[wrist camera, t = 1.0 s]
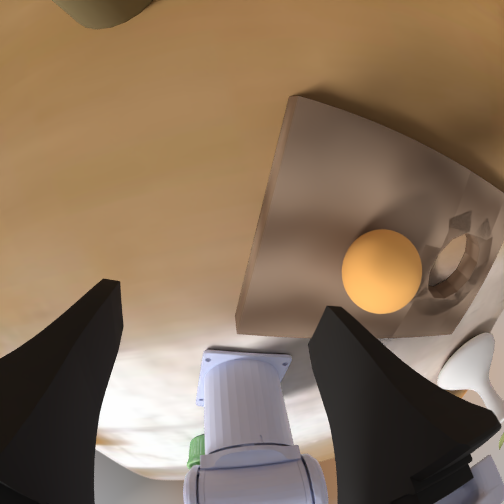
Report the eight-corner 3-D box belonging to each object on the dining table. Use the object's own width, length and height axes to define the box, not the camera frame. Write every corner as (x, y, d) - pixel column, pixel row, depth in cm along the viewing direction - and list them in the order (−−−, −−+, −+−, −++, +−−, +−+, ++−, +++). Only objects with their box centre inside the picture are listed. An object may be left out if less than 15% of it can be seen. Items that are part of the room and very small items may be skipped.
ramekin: (180, 431, 32) (179, 459, 28) (246, 428, 32) (250, 456, 29) (193, 452, 36) (194, 475, 32) (249, 449, 37) (253, 473, 33)
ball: (378, 285, 19) (411, 331, 15) (320, 278, 18) (346, 331, 14) (406, 224, 17) (450, 262, 13) (345, 208, 16) (387, 249, 12)
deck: (442, 322, 27) (451, 334, 25) (235, 315, 22) (236, 333, 20) (504, 196, 19) (518, 203, 18) (289, 96, 14) (298, 95, 13)
